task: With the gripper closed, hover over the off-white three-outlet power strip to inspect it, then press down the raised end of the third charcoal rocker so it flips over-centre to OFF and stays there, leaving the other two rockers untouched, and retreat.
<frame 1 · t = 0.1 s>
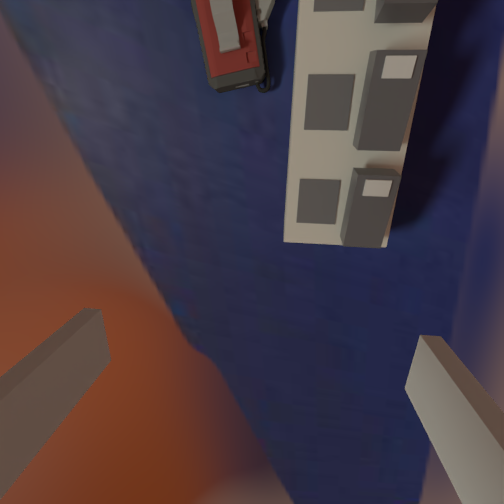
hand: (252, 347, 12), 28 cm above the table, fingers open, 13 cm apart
rocker 2: (385, 103, 26), point 7 cm above the table, hinge at 12.0°, touching power strip
rocker 3: (367, 209, 30), point 7 cm above the table, hinge at 12.0°, touching power strip
power strip: (343, 109, 33), on the table
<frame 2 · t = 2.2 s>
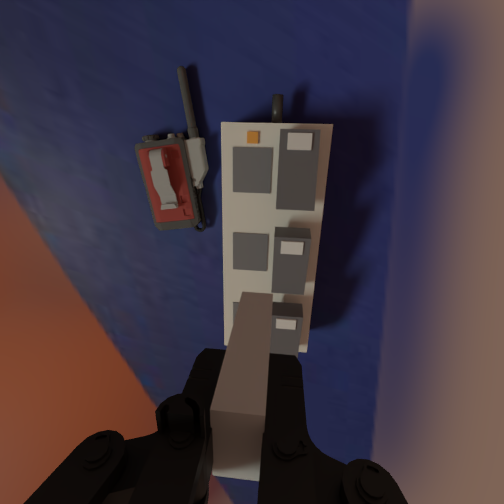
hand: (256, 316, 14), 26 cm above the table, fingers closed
walkie-talkie: (177, 158, 38), on the table
rocker 2: (289, 262, 33), point 7 cm above the table, hinge at 12.0°, touching power strip
rocker 3: (284, 331, 37), point 7 cm above the table, hinge at 12.0°, touching power strip
rocker 1: (296, 171, 30), point 7 cm above the table, hinge at -12.0°, touching power strip
power strip: (271, 240, 40), on the table
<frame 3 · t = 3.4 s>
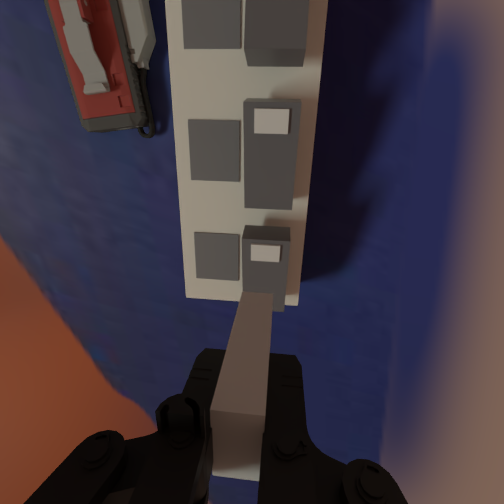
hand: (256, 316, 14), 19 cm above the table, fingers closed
walkie-talkie: (113, 28, 27), on the table
rocker 2: (270, 157, 22), point 7 cm above the table, hinge at 12.0°, touching power strip
rocker 3: (265, 270, 26), point 7 cm above the table, hinge at 12.0°, touching power strip
power strip: (249, 150, 29), on the table
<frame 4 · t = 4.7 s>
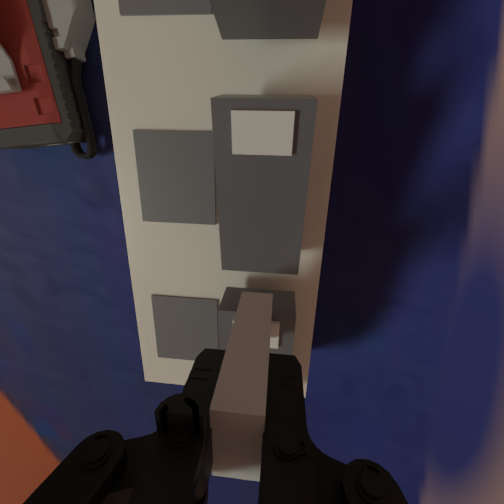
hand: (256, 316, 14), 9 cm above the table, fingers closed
walkie-talkie: (35, 1, 18), on the table
rocker 2: (262, 191, 13), point 7 cm above the table, hinge at 12.0°, touching power strip
rocker 3: (256, 357, 17), point 7 cm above the table, hinge at 3.2°, touching gripper
power strip: (234, 173, 20), on the table
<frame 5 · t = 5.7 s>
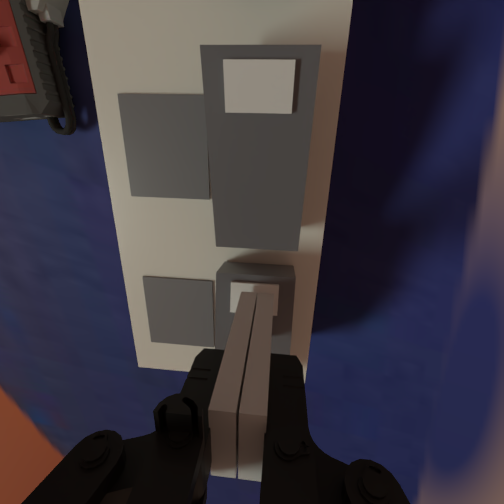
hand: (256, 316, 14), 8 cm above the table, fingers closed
rocker 2: (259, 159, 12), point 7 cm above the table, hinge at 12.0°, touching power strip
rocker 3: (253, 337, 16), point 7 cm above the table, hinge at -10.1°, touching gripper
power strip: (230, 148, 19), on the table
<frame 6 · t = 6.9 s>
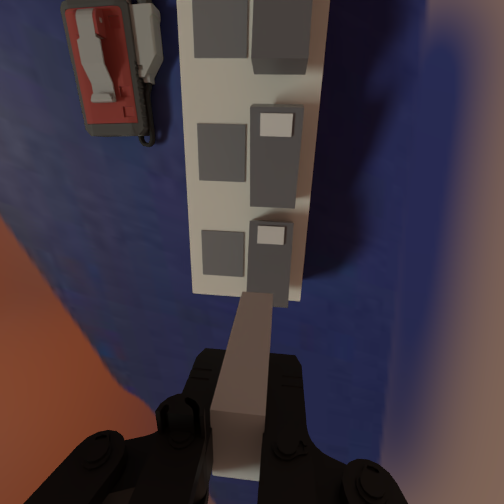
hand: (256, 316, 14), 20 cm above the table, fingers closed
walkie-talkie: (124, 42, 29), on the table
rocker 2: (274, 158, 24), point 7 cm above the table, hinge at 12.0°, touching power strip
rocker 3: (269, 262, 27), point 7 cm above the table, hinge at -11.6°, touching power strip
rocker 1: (282, 5, 20), point 7 cm above the table, hinge at -12.0°, touching power strip
power strip: (253, 153, 31), on the table
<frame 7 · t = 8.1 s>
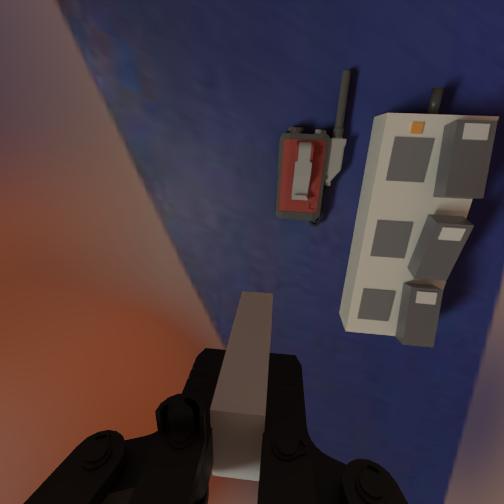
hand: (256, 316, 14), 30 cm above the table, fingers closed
walkie-talkie: (309, 153, 40), on the table
rocker 2: (437, 248, 35), point 7 cm above the table, hinge at 12.0°, touching power strip
rocker 3: (418, 314, 38), point 7 cm above the table, hinge at -11.8°, touching power strip
rocker 1: (463, 161, 31), point 7 cm above the table, hinge at -12.0°, touching power strip
power strip: (395, 230, 42), on the table
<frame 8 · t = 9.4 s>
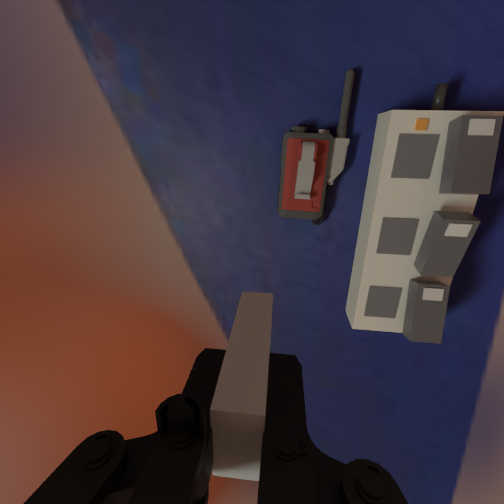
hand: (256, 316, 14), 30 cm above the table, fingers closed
walkie-talkie: (312, 152, 40), on the table
rocker 2: (444, 245, 35), point 7 cm above the table, hinge at 12.0°, touching power strip
rocker 3: (425, 311, 38), point 7 cm above the table, hinge at -11.9°, touching power strip
rocker 1: (469, 156, 31), point 7 cm above the table, hinge at -12.0°, touching power strip
power strip: (401, 227, 42), on the table
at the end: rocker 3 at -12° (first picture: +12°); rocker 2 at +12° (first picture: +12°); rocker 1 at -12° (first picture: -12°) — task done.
